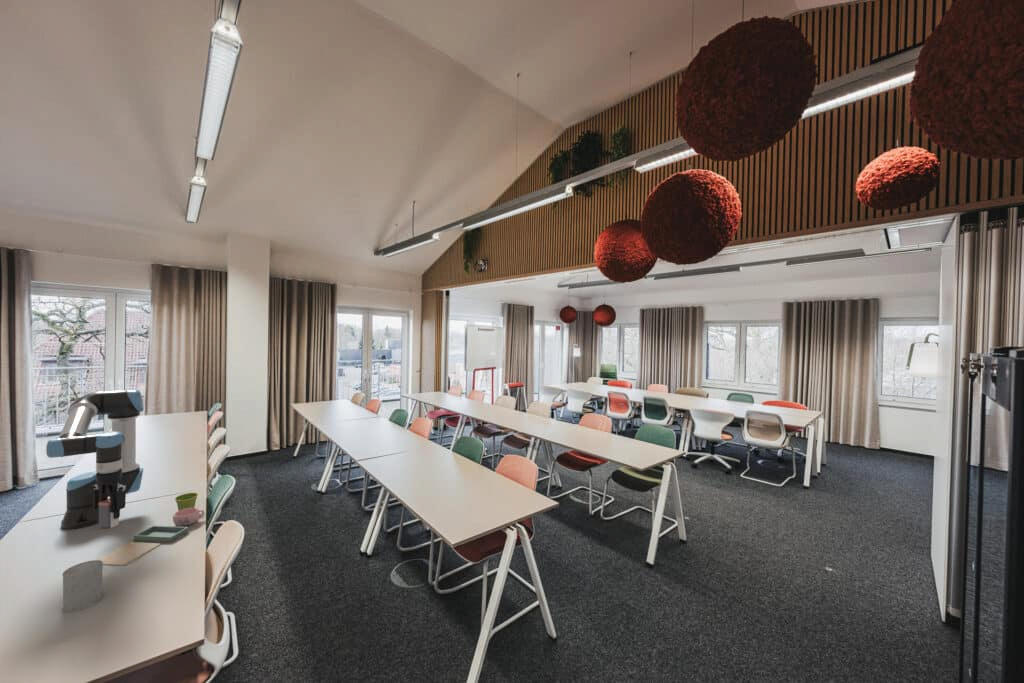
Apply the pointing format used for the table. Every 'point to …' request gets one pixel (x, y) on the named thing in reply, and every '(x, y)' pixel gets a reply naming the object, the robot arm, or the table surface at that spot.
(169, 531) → the tray
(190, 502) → the plant pot
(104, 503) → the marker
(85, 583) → the grey stone cylinder
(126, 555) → the tan board
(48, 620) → the table surface
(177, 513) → the mug
